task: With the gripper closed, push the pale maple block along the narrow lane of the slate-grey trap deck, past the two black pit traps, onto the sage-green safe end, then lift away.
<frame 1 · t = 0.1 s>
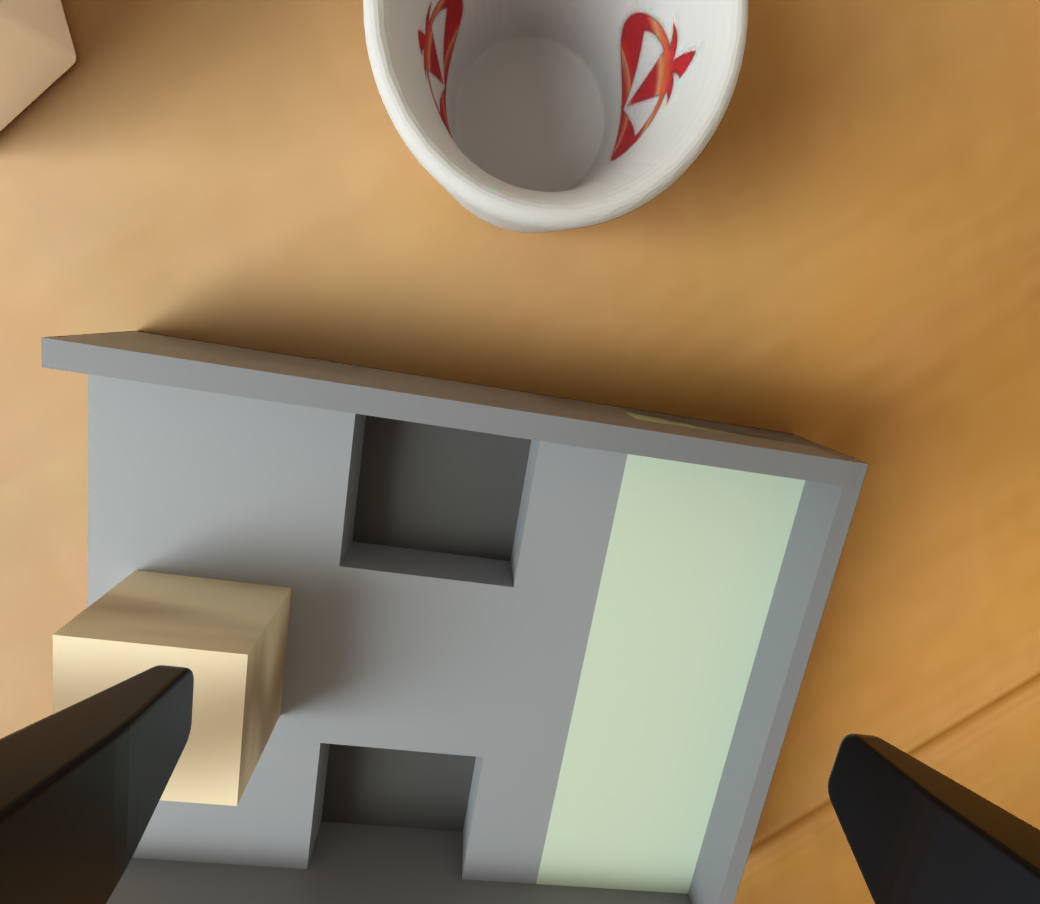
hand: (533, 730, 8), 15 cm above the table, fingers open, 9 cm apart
cup: (530, 84, 20), on the table
trap deck: (446, 632, 24), on the table
maple block: (210, 645, 20), point 2 cm above the table, touching trap deck
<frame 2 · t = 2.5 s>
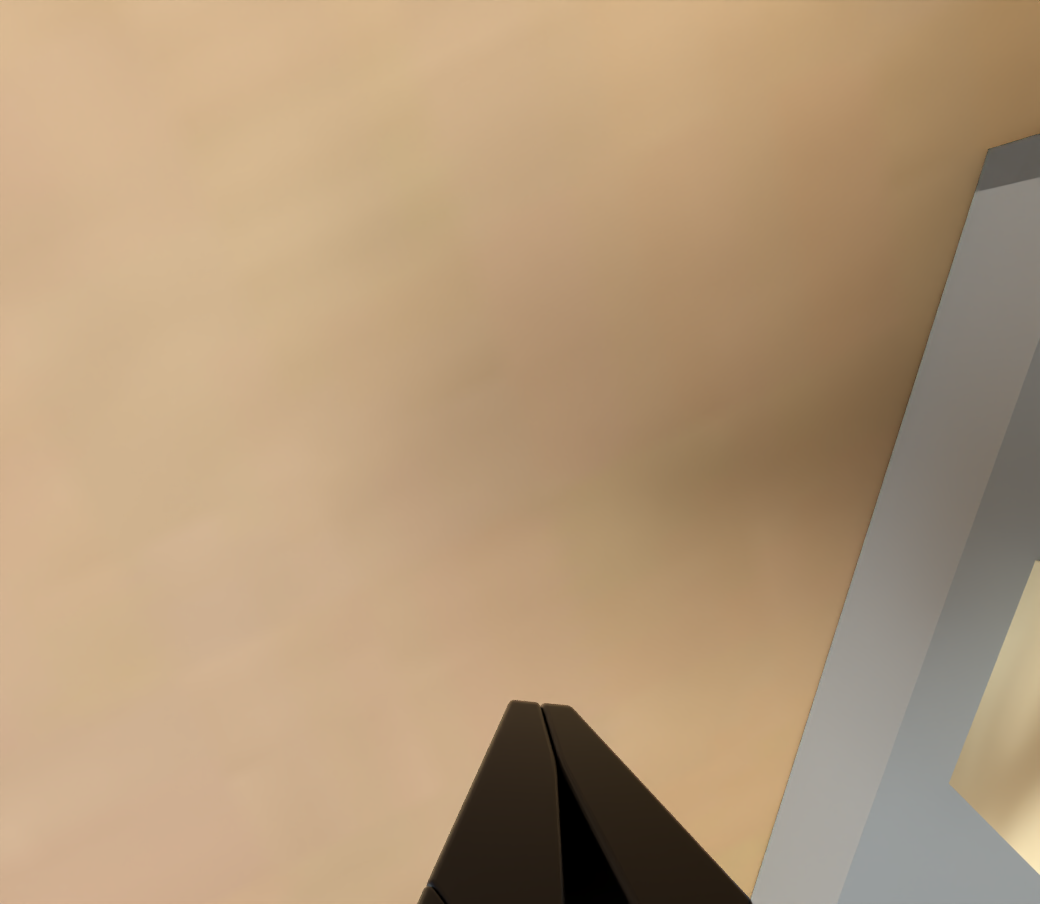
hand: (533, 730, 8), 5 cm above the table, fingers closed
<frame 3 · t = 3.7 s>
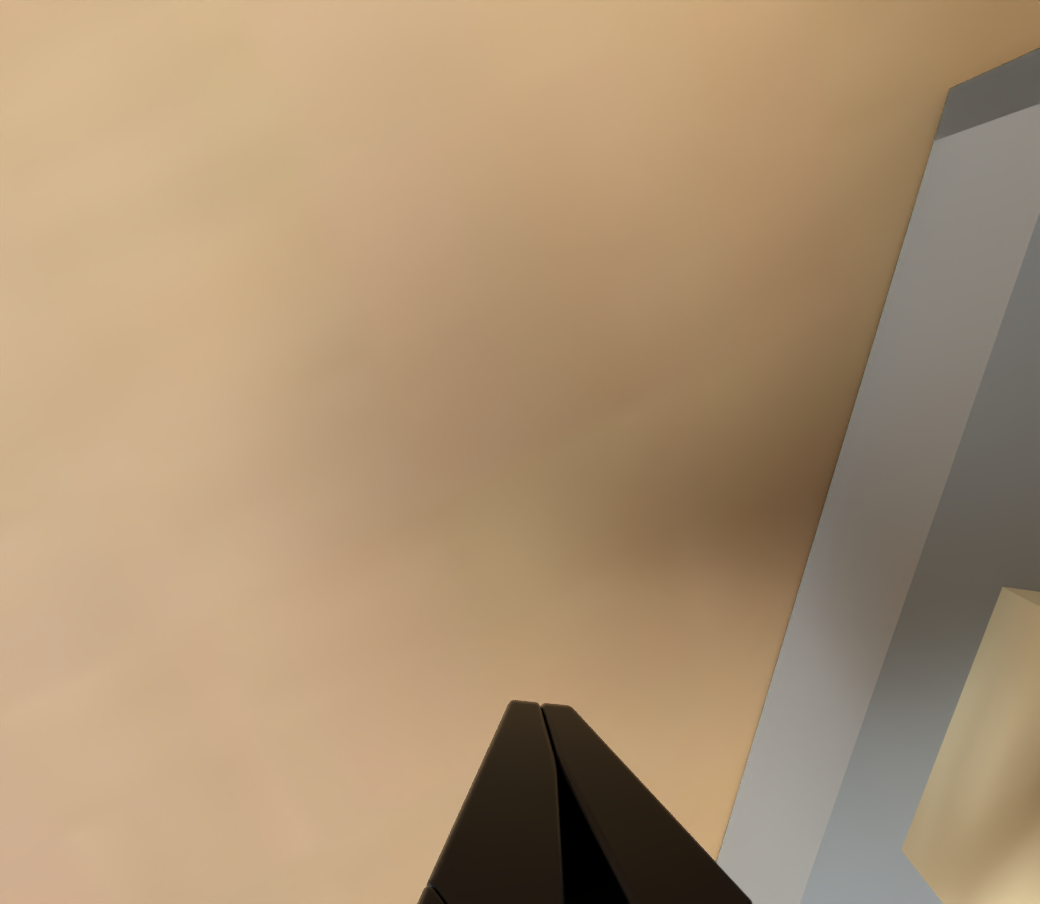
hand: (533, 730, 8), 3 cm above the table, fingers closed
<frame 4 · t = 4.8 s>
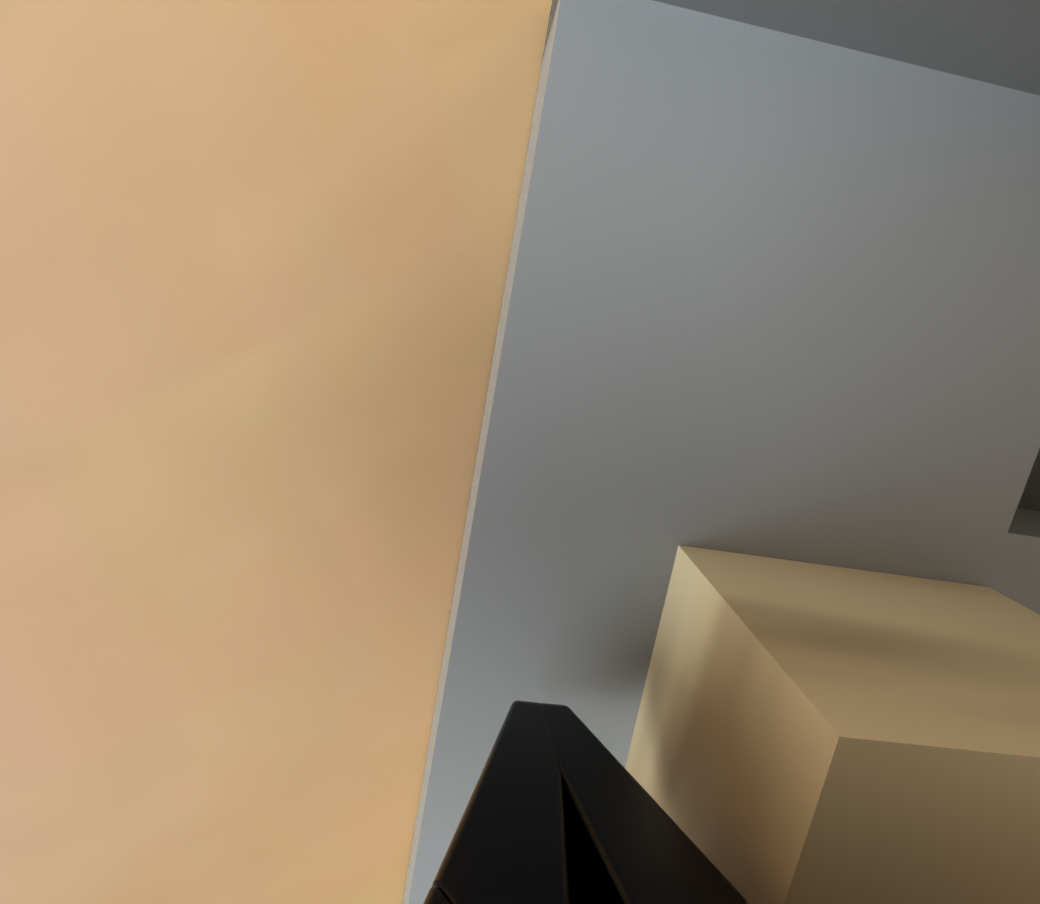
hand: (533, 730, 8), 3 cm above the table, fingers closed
trap deck: (1016, 669, 13), on the table
maple block: (793, 711, 9), point 3 cm above the table, touching gripper
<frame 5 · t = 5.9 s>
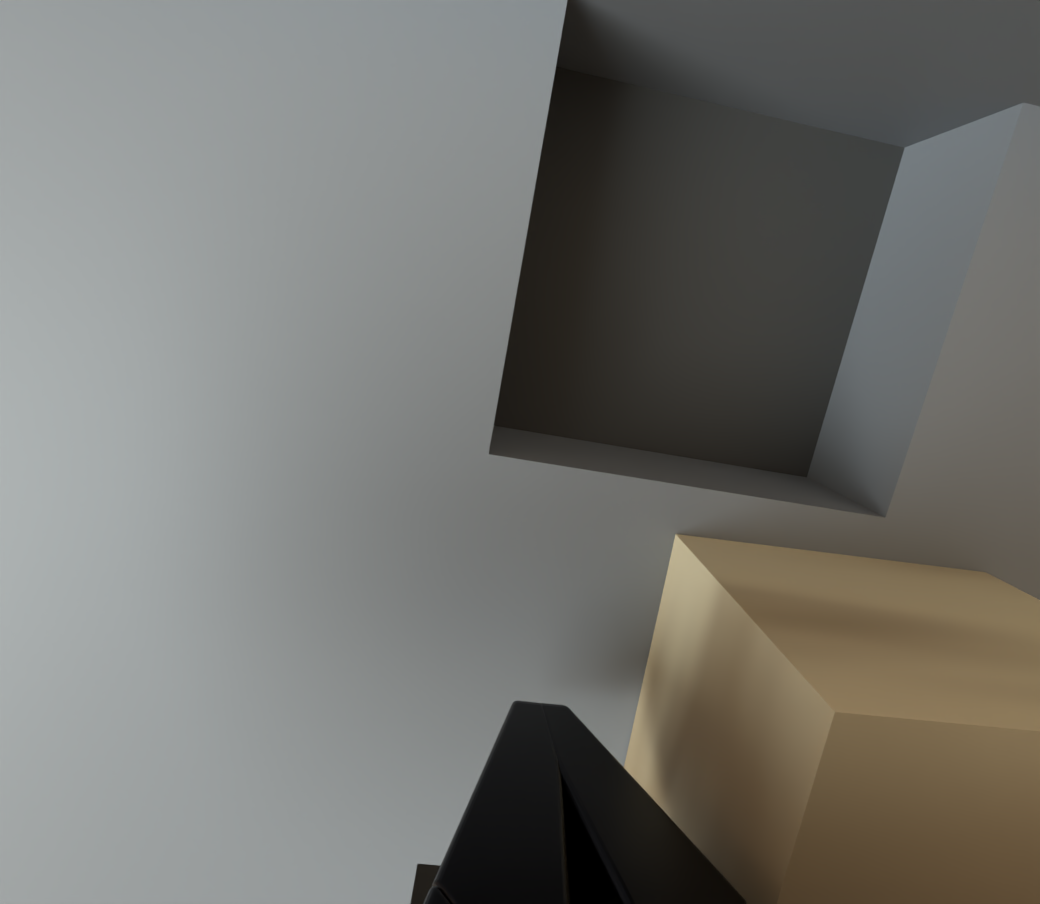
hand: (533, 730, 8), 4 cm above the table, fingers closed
trap deck: (655, 624, 12), on the table
maple block: (793, 699, 10), point 3 cm above the table, touching gripper
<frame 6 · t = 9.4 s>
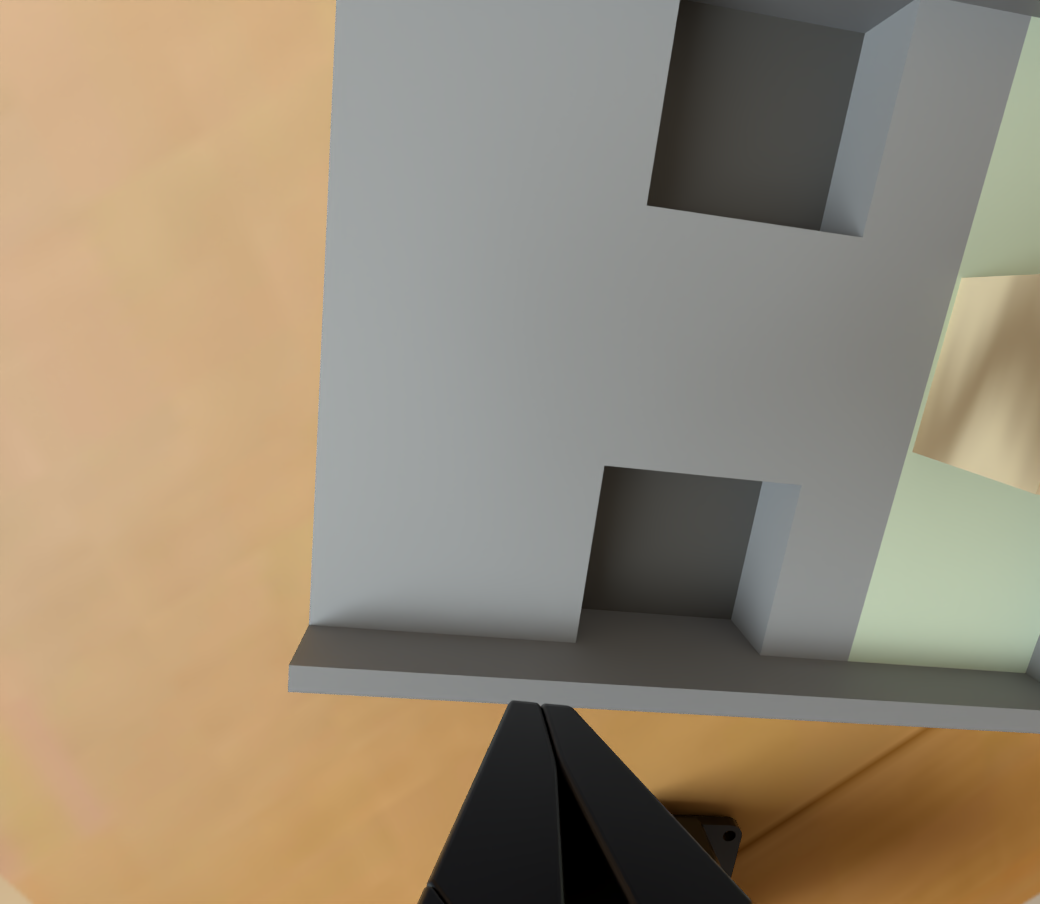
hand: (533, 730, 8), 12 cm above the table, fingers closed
trap deck: (726, 351, 19), on the table
maple block: (1014, 377, 17), point 2 cm above the table, touching trap deck
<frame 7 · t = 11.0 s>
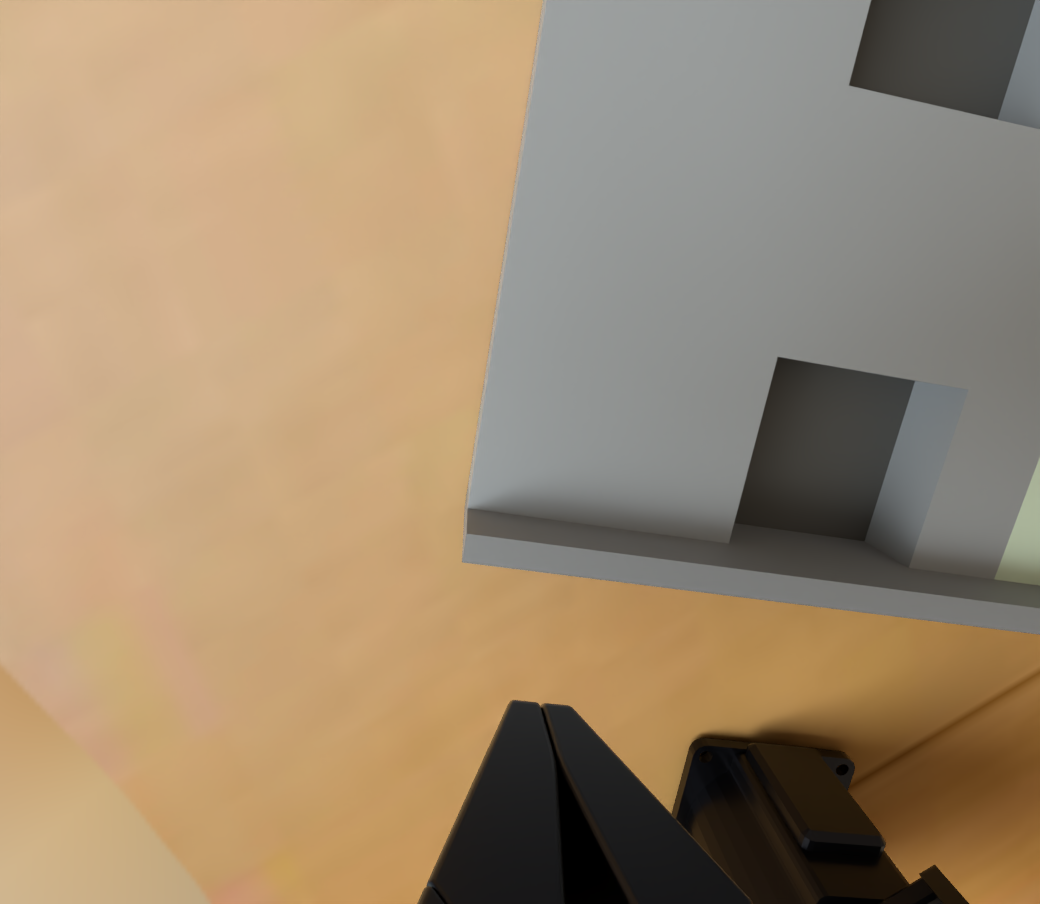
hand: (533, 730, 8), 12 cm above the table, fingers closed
trap deck: (885, 261, 19), on the table
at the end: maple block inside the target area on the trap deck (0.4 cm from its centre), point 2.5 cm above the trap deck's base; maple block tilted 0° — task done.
